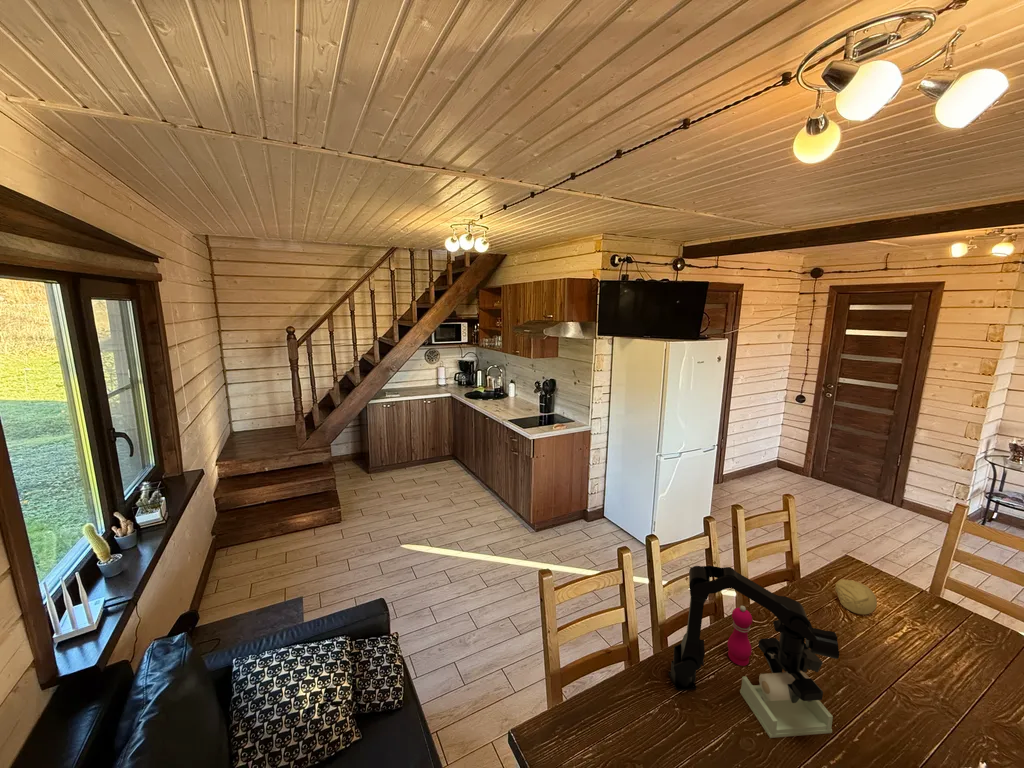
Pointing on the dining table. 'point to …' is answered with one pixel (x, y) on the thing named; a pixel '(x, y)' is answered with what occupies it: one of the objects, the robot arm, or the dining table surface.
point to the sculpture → (856, 596)
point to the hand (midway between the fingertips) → (785, 691)
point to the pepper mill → (740, 637)
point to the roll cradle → (786, 714)
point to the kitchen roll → (777, 685)
